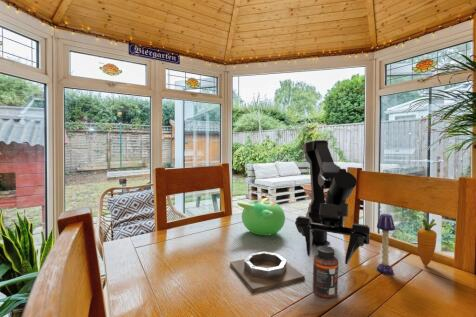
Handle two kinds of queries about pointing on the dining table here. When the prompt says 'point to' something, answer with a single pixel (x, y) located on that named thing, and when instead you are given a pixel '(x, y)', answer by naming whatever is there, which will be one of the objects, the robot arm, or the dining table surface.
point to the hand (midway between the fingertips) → (326, 259)
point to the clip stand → (263, 284)
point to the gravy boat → (262, 216)
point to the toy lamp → (385, 241)
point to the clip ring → (265, 272)
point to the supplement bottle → (325, 272)
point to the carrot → (426, 241)
